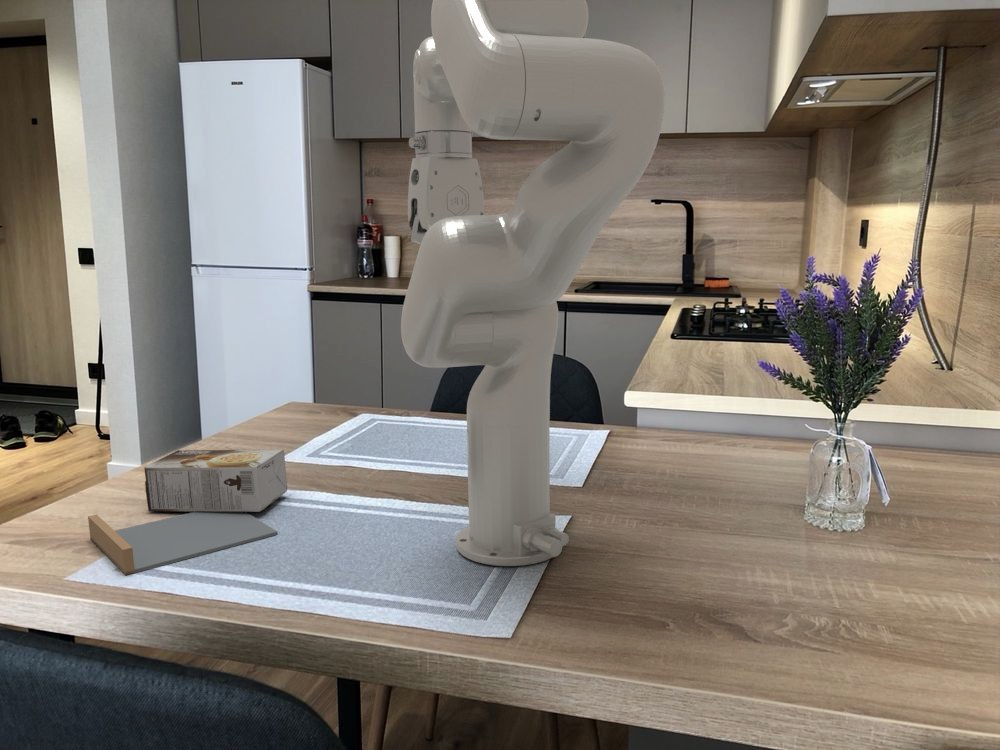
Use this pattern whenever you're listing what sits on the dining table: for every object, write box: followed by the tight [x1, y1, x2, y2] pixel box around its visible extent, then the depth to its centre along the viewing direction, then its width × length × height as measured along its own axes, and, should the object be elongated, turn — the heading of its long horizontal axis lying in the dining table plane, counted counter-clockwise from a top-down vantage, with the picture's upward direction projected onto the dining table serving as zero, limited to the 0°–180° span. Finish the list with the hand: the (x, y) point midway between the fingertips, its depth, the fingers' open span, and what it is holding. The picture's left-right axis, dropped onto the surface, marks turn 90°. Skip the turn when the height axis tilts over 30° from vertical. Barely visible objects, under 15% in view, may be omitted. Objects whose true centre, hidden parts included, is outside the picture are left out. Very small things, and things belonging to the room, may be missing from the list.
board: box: [87, 511, 278, 576], centre depth 103 cm, size 14×18×3 cm
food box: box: [144, 449, 288, 513], centre depth 115 cm, size 9×6×16 cm
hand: (447, 285), depth 115 cm, fingers closed
